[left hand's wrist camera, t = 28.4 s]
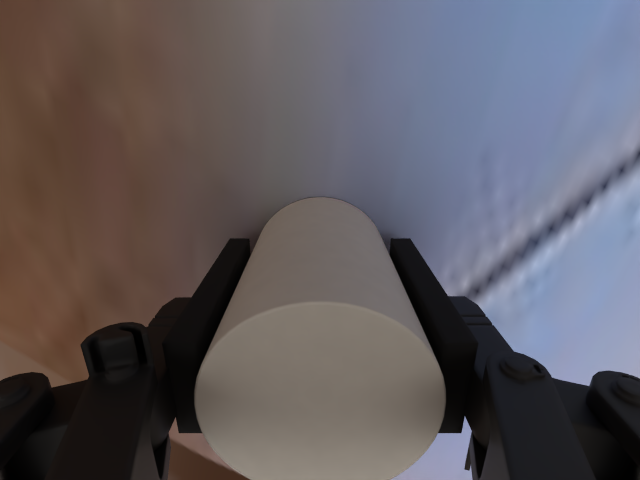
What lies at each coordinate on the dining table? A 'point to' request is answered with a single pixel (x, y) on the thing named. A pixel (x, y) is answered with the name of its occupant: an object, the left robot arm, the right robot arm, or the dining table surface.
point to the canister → (320, 356)
